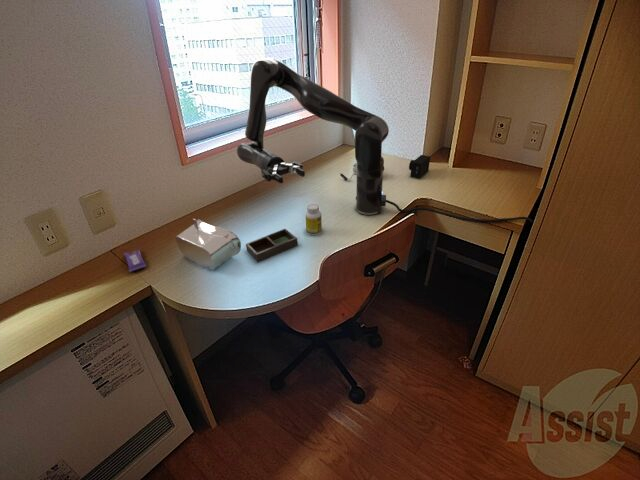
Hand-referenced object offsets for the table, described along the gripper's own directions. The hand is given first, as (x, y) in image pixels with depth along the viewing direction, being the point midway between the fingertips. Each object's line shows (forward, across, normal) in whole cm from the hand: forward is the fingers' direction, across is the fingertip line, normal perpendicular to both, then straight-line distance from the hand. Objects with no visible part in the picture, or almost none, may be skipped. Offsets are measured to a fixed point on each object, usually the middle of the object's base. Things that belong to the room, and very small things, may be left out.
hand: (293, 177), depth 121 cm
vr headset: (+3, -33, +17) cm, 37 cm away
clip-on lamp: (-14, +42, +16) cm, 48 cm away
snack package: (-9, -54, +17) cm, 57 cm away
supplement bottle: (+11, 0, +16) cm, 20 cm away
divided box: (+11, -16, +16) cm, 26 cm away
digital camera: (+1, +64, +16) cm, 66 cm away
